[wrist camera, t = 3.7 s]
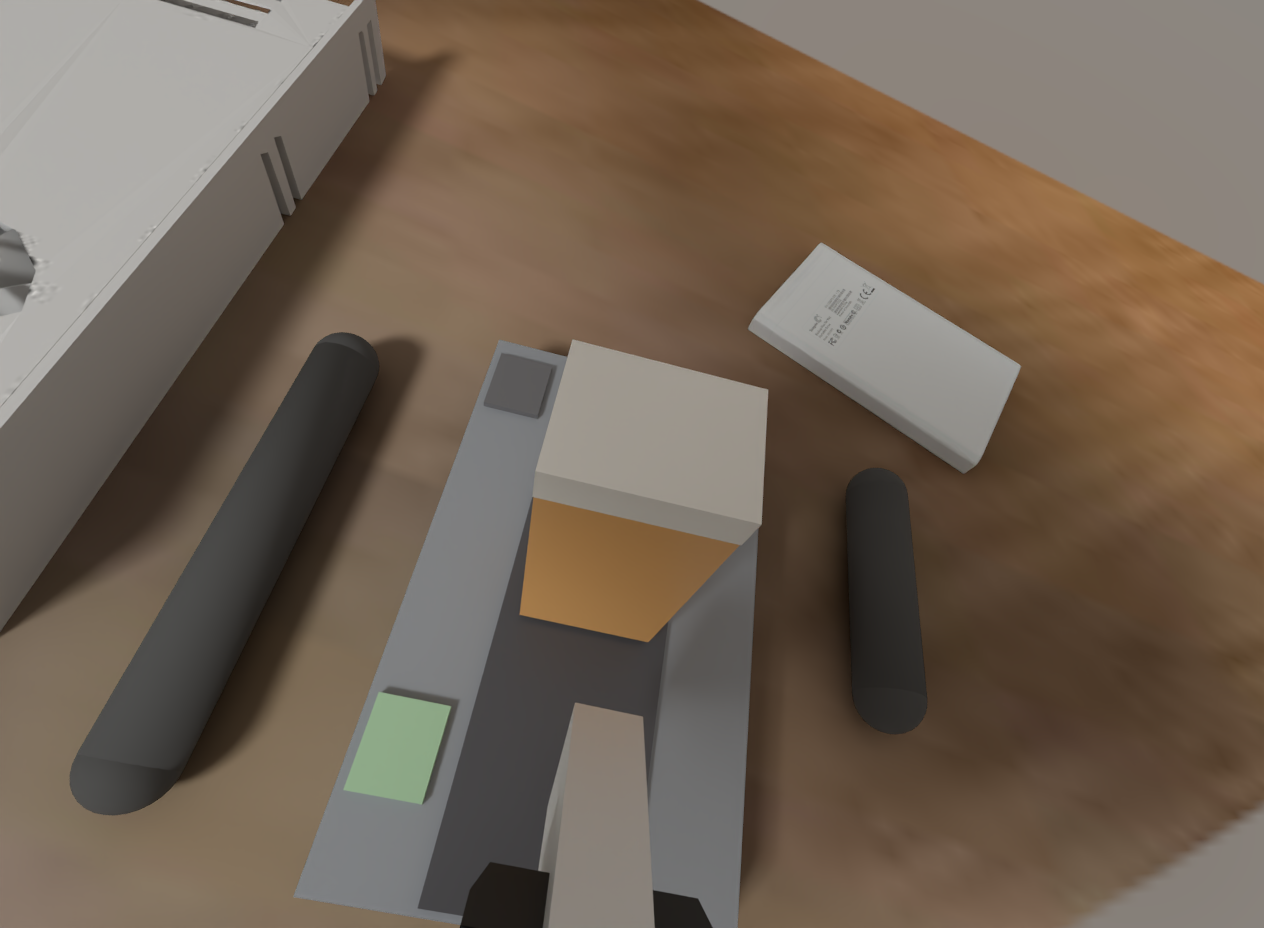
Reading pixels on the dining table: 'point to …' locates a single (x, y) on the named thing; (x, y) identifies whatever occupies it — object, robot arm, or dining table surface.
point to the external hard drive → (890, 355)
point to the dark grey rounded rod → (222, 589)
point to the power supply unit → (141, 214)
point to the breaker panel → (529, 699)
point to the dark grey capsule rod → (883, 604)
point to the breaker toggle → (639, 490)
